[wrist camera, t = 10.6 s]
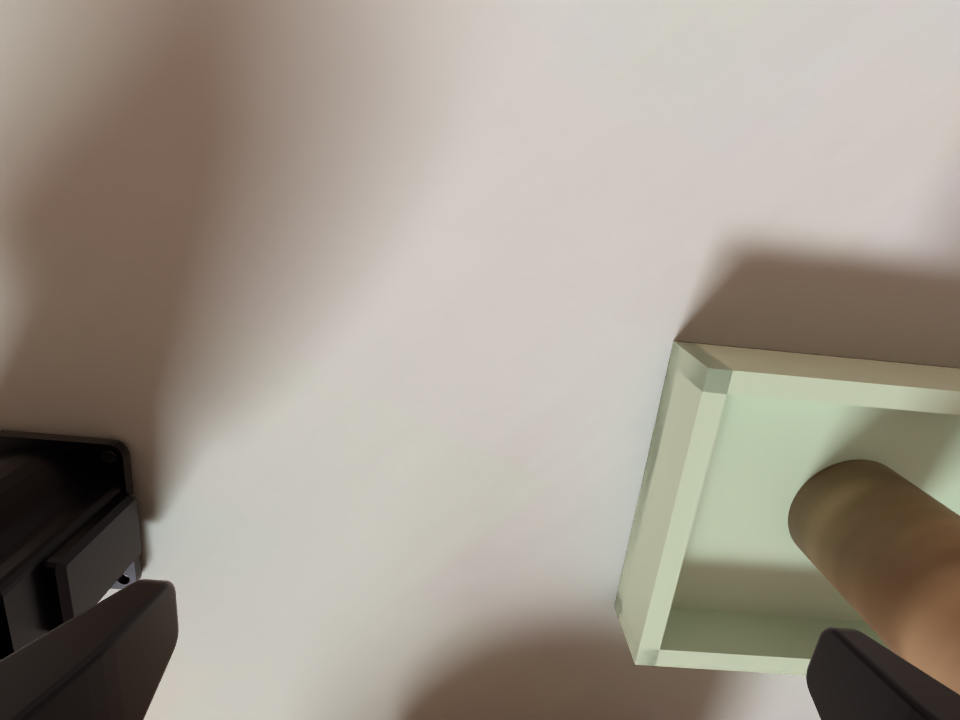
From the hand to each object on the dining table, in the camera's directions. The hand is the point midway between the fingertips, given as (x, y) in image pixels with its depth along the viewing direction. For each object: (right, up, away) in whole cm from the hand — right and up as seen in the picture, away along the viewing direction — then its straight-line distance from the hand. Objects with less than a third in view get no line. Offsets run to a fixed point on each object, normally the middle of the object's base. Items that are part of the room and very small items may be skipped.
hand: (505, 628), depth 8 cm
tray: (+13, -2, +15) cm, 20 cm away
